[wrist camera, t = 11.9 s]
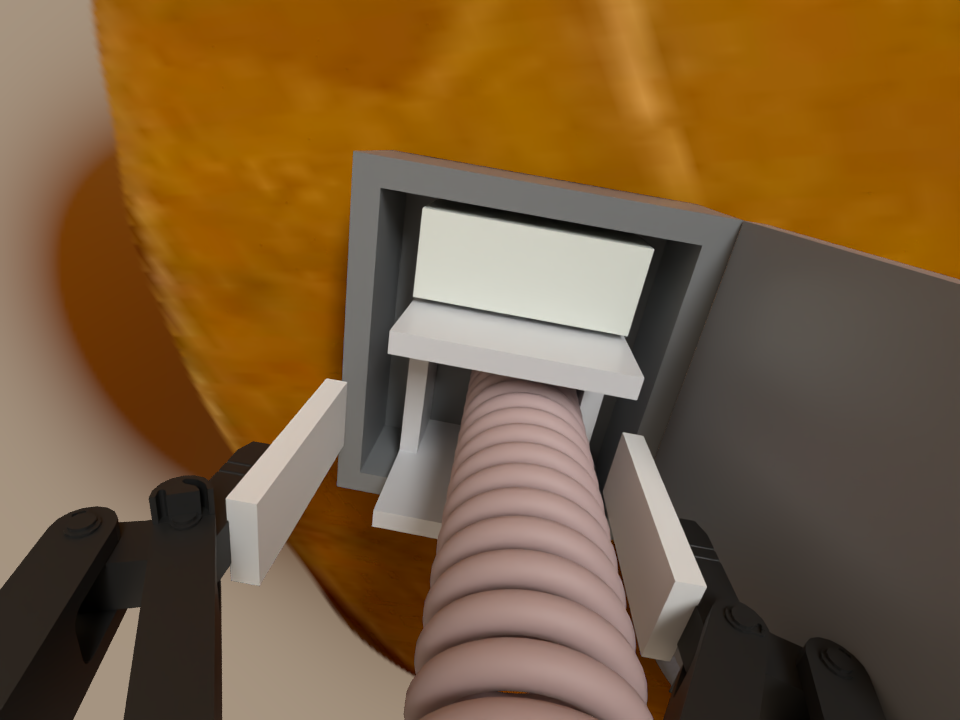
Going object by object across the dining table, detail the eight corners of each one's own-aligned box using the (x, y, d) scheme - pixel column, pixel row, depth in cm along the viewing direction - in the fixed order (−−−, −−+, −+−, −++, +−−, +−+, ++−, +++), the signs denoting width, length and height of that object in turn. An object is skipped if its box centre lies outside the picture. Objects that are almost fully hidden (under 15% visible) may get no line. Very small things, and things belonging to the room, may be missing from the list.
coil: (573, 412, 24) (701, 1008, 7) (479, 420, 24) (400, 992, 8) (566, 322, 22) (715, 847, 6) (464, 333, 23) (324, 841, 6)
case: (392, 150, 21) (-119, 161, 4) (768, 217, 20) (1718, 495, 4) (370, 427, 26) (112, 878, 10) (663, 483, 26) (884, 1043, 10)
